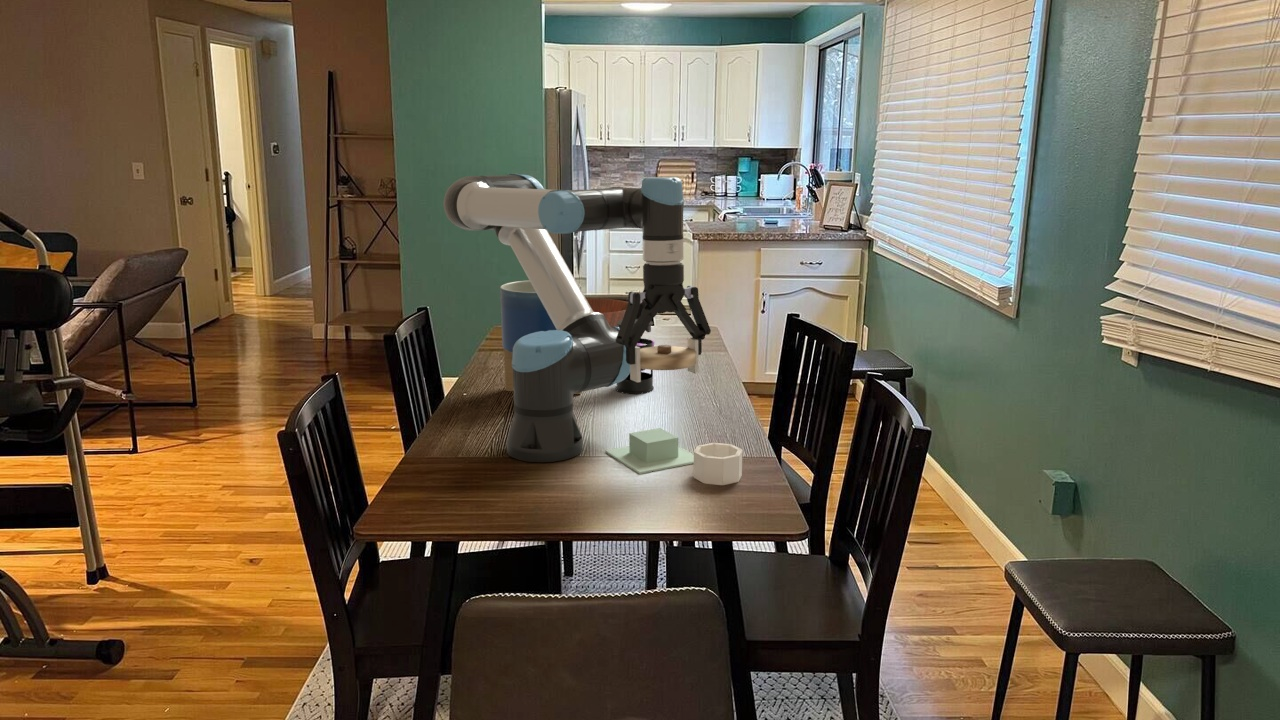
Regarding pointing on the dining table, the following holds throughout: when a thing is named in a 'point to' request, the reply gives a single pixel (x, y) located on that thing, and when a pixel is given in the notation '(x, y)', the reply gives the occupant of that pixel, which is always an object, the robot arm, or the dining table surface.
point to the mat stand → (652, 451)
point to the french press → (646, 378)
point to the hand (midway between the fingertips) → (664, 376)
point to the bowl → (609, 309)
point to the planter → (520, 319)
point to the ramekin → (717, 463)
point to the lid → (667, 357)
